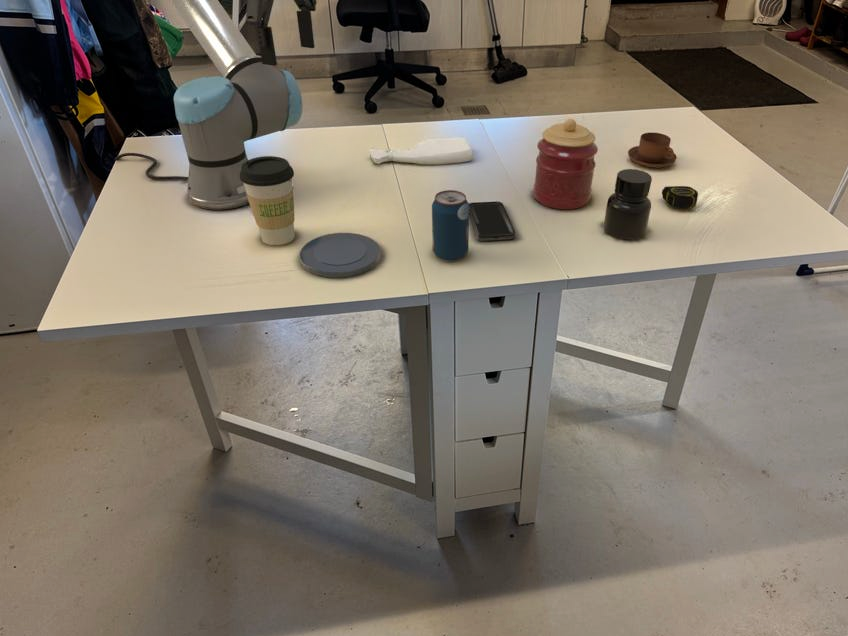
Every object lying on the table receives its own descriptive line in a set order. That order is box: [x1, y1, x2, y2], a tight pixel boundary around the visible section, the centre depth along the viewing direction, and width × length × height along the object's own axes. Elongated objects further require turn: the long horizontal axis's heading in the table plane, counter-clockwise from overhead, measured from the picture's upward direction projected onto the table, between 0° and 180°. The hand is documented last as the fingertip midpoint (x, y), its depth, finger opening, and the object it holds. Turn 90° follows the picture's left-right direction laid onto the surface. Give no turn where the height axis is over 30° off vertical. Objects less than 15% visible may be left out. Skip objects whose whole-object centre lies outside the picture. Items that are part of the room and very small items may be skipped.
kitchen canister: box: [533, 118, 599, 210], centre depth 143 cm, size 13×13×18 cm
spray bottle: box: [369, 137, 474, 166], centre depth 163 cm, size 3×11×24 cm
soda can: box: [431, 189, 470, 263], centre depth 124 cm, size 7×7×12 cm
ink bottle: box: [603, 168, 653, 240], centre depth 134 cm, size 10×9×12 cm
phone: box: [468, 200, 516, 242], centre depth 138 cm, size 8×1×15 cm
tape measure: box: [661, 185, 699, 210], centre depth 146 cm, size 7×7×4 cm
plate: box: [299, 232, 381, 279], centre depth 125 cm, size 15×15×1 cm
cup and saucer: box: [627, 132, 678, 168], centre depth 164 cm, size 12×12×6 cm
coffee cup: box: [240, 155, 296, 246], centre depth 126 cm, size 10×10×15 cm
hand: (289, 55), depth 129 cm, fingers open, 13 cm apart
